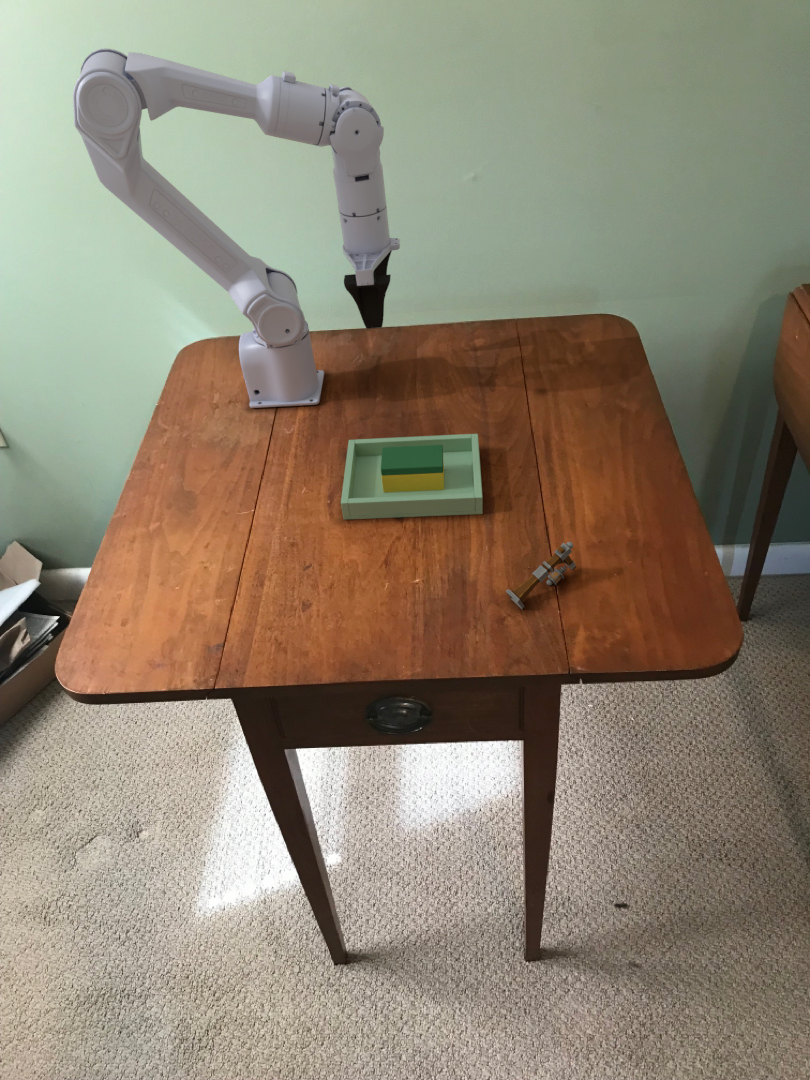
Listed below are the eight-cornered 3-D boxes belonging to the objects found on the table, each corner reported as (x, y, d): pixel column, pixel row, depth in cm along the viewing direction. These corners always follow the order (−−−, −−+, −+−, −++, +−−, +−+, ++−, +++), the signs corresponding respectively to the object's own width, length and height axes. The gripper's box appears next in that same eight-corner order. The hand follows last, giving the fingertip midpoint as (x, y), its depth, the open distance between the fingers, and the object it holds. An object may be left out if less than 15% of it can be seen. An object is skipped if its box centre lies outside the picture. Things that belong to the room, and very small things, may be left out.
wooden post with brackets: (587, 564, 77) (576, 543, 74) (529, 619, 77) (516, 601, 74) (574, 554, 78) (563, 533, 75) (518, 608, 78) (504, 589, 75)
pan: (343, 519, 86) (340, 503, 85) (351, 455, 95) (348, 439, 93) (482, 514, 85) (482, 497, 84) (478, 450, 94) (477, 433, 92)
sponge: (383, 492, 88) (380, 468, 86) (384, 470, 91) (382, 447, 89) (444, 490, 88) (442, 466, 86) (443, 468, 91) (442, 444, 88)
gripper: (393, 229, 86) (404, 338, 96) (397, 182, 96) (407, 284, 106) (331, 234, 87) (348, 342, 96) (342, 186, 97) (356, 288, 106)
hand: (375, 312), depth 101 cm, fingers open, 7 cm apart
